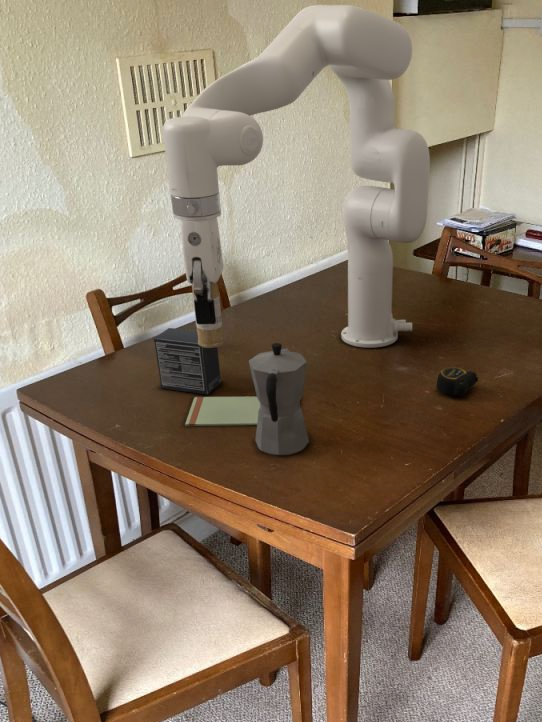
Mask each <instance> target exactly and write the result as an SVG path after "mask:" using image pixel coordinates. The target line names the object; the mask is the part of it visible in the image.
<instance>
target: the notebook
mask: <svg viewBox="0 0 542 722" xmlns="http://www.w3.org/2000/svg"><path fill="white" fill-rule="evenodd" d="M259 409H260V402H259V400H258V398H257V395H256V396H194V398H193V400H192V403H191V406H190V409H189V412H188V415H187V416H186V417H187V418H186V420H185V423H184V425H185V426H184V427H196V426H197V427H208V426H209V427H211V426H215V427H218V426H219V427H220V426H257V421H258V411H259Z"/></svg>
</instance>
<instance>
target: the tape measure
mask: <svg viewBox="0 0 542 722" xmlns="http://www.w3.org/2000/svg"><path fill="white" fill-rule="evenodd" d="M478 382H479V377H478V376H477V373H476V372H475V371H472V370H469V371H468V370H466V369H464V368H461V367H455V366H451V367H450V366H449V367H445V368H442V369H441V370H440V371H439V372H438V373H437V376H436V388H437V390H438V391H439V392H441V393H442V394H444V395H449V396H457V397H463V396H464V395H465V394H466V393H467V392H468V391H469V390H470V389H471V388H472V387H474V386H475V384H476V383H478Z"/></svg>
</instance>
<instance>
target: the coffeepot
mask: <svg viewBox="0 0 542 722" xmlns="http://www.w3.org/2000/svg"><path fill="white" fill-rule="evenodd" d="M282 347H283V345H282V343H279V342H274V343H272V344H271V349H272V350H271V351H263V352H258V354H256V355H254V356H253V357H252V358H250V359H249V360H248V364H249V369H250V373H251V378H252V381H253V386H254V390H255V395H256V396H257V398H258V400H259V402H260V409H259V411H258V421H257V425H256V432H255V443H256V445H257V448H258V449H259V450H260V451H261V452H264V454H267V455H271V456H289V455H294V454H296V453H299V452H301V451H302V450H304V449H305V448H306V447H307V445H308V444H309V443H310V440H309V435H308V431H307V425H306V421H305V417H304V413H303V409H302V407H301V400H302V399H303V395H304V387H305V381H306V380H305V379H306V371H307V360H306V359H305V358H304V356H303V355H302V354H301V353H300V352H295V351H291V350H290V349H289V348H288V347H284V348H282Z"/></svg>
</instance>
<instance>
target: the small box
mask: <svg viewBox="0 0 542 722" xmlns="http://www.w3.org/2000/svg"><path fill="white" fill-rule="evenodd" d="M153 342H154V347H155V348H154V349H155V354H156V362H157V368H158V375H159V382H160V389H162V390H164V389H165V390H171V391H176V392H177V391H178V392H185V393H191V394H192V393H193V394H200V395H205V396H206V395H207V396H208V395H209V394H211V392H212V391H213V390H215V389H216V388H217V387H218V386H220V385H221V383H222V380H221V379H222V378H221V369H220V360H219V351H218V347H214V348H205V347H202V346H200V345H199V344H198V333H197V330H192V329H181V328H175V327H174V328H173V327H167V329H165V330H164V331H162V332H160V333H159V334H157V335H155V336H154V337H153Z"/></svg>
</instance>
